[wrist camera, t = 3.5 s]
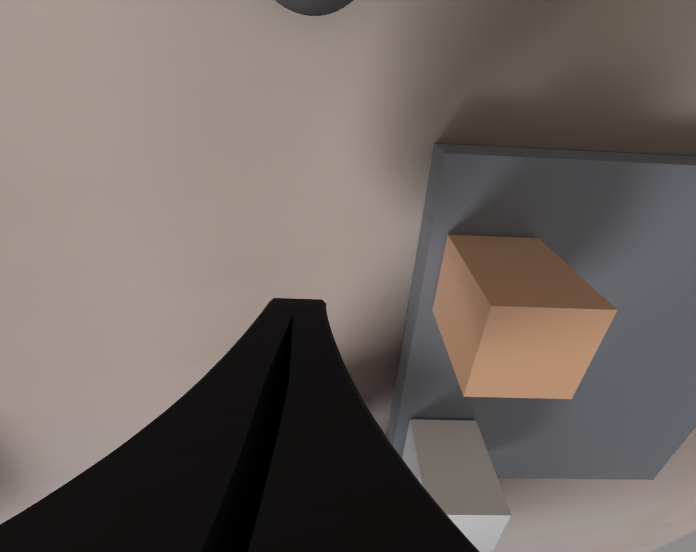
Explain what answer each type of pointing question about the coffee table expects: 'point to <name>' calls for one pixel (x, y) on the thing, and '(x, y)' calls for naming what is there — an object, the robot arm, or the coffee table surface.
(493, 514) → the plain white brick
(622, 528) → the coffee table surface
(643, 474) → the flat gray rectangular panel
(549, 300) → the tan wooden cube
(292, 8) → the post
